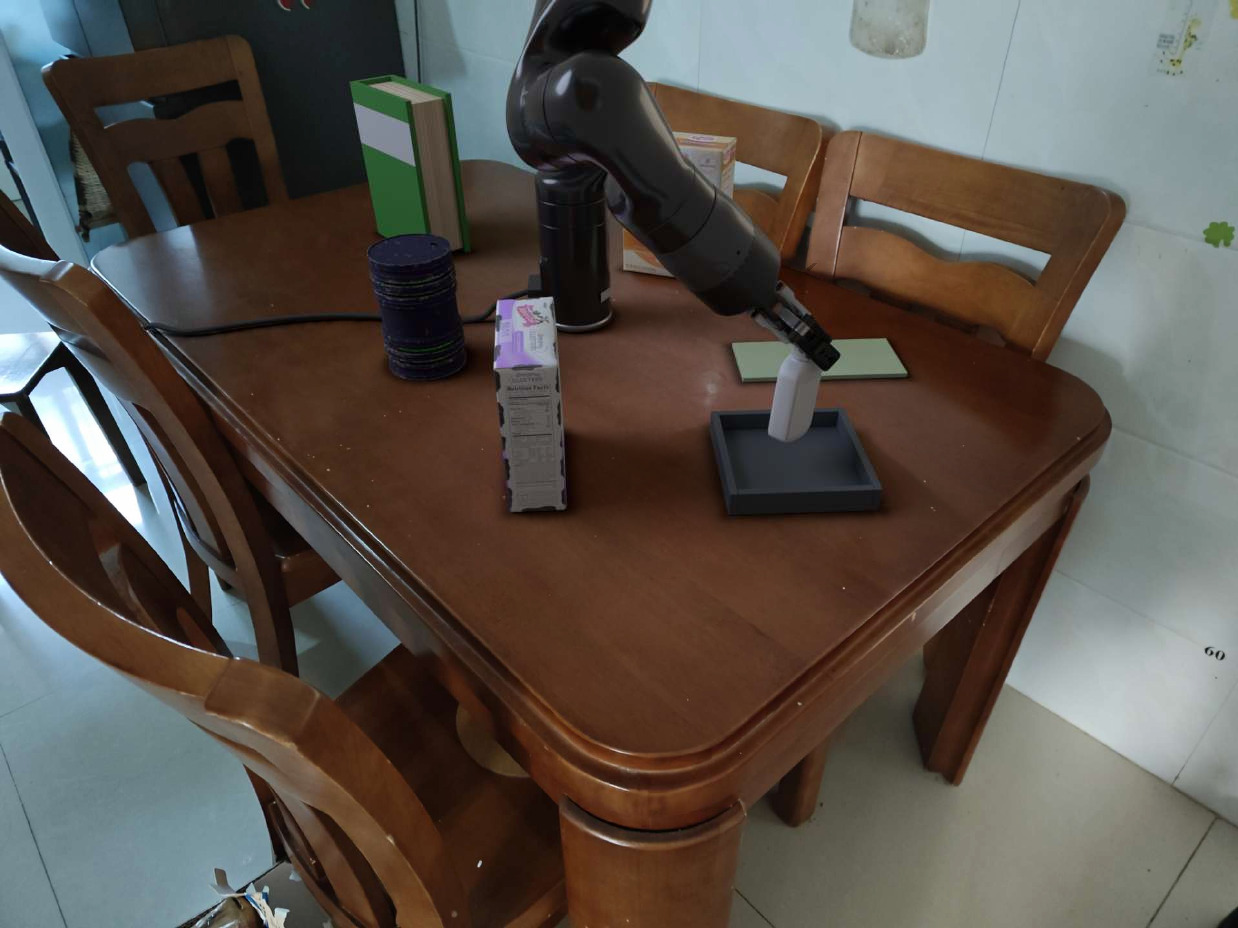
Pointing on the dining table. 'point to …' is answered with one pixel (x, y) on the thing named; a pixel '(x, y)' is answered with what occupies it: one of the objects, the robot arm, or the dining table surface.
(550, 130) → the robot arm
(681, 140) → the coffeecake box
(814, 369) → the eye dropper bottle
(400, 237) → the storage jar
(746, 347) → the mat
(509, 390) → the candy box
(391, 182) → the hardback book
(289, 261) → the dining table surface
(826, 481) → the tray
